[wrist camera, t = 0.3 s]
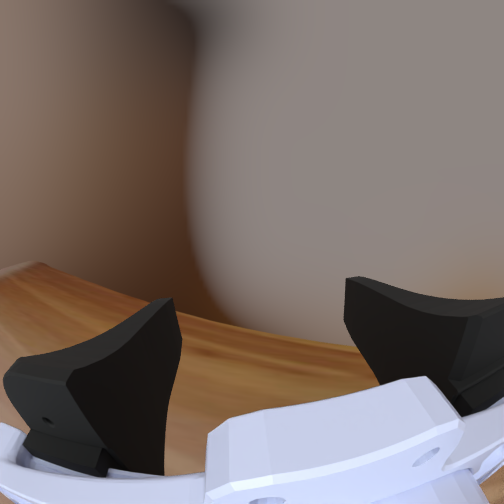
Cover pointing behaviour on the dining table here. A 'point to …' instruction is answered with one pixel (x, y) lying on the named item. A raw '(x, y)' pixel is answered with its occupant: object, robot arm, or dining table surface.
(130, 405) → the robot arm
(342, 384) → the dining table surface
